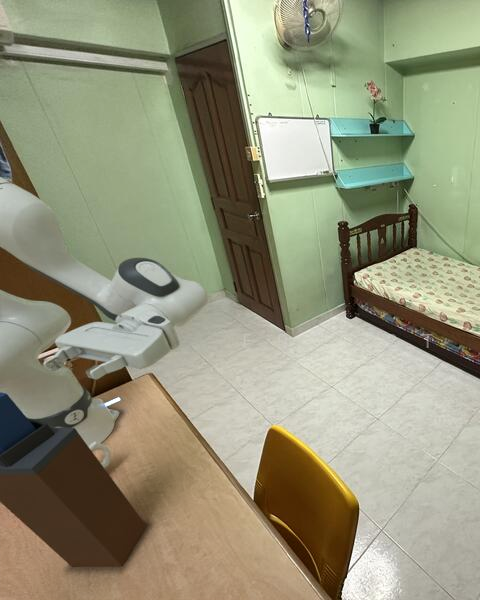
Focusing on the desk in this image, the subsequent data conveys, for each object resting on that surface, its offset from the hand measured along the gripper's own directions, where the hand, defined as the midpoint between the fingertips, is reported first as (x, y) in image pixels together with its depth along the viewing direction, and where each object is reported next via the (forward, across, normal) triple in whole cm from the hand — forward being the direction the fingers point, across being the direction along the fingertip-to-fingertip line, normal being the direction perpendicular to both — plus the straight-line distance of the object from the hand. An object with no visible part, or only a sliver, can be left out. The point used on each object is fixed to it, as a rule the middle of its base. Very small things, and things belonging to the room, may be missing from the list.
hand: (68, 371), depth 54 cm
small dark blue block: (+10, 0, +7) cm, 12 cm away
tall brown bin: (+10, 0, +40) cm, 41 cm away
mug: (0, -17, +40) cm, 43 cm away
